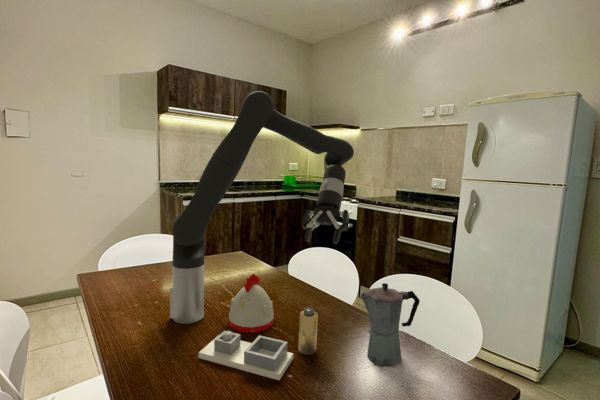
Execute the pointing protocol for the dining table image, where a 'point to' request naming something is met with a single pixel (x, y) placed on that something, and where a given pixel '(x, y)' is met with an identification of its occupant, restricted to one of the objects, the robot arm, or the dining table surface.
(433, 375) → the dining table surface
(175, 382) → the dining table surface
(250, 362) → the white tray
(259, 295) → the kitchen timer
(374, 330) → the moka pot
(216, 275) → the dining table surface
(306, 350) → the gold bottle
